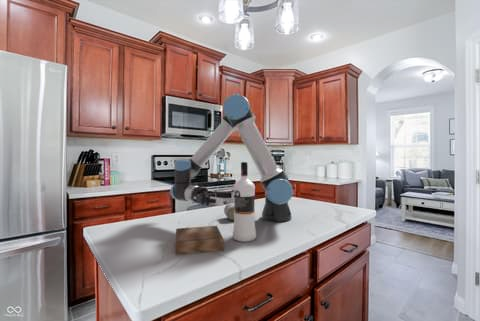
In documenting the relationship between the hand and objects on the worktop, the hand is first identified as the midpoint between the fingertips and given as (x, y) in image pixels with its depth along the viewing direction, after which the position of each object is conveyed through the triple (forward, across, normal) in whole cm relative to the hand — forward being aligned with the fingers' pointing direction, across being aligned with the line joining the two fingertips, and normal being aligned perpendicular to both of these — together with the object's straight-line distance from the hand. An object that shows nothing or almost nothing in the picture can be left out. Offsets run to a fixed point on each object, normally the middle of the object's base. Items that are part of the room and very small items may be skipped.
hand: (234, 199), depth 98 cm
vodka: (+5, 0, -15) cm, 16 cm away
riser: (-5, +15, -15) cm, 22 cm away
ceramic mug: (-17, -22, -15) cm, 32 cm away
